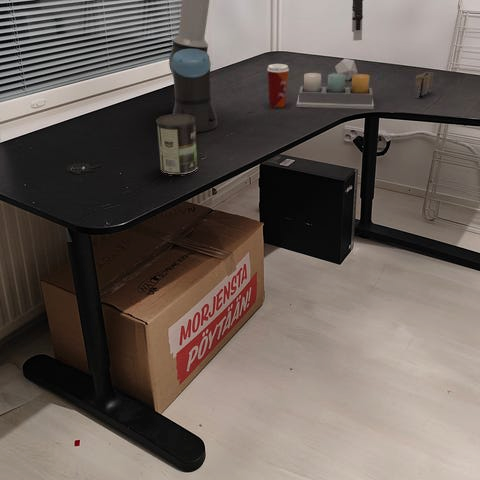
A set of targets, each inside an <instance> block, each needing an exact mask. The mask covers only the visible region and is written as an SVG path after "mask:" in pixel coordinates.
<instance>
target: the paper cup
mask: <svg viewBox="0 0 480 480" xmlns="http://www.w3.org/2000/svg"><path fill="white" fill-rule="evenodd" d="M266 70H267V79H268V81H267V82H268V102H269V107H271V108H276V107H279V108H284V107H286V97H287V90H288V89H287V88H288V77H289V76H288V75H289V74H288V73H289V70H290V69H289V66H288V65H287V64H284V63H273V64H269V65H268V66H267V68H266Z"/></svg>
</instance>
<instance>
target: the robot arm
mask: <svg viewBox="0 0 480 480" xmlns="http://www.w3.org/2000/svg"><path fill="white" fill-rule="evenodd" d="M363 1H364V0H352V6H351V7H352V9H351V10H352V18H351V24H352V25H351V32H352V33H353V37H352V39H353V41H362V40H363V19H364V16H363V9H364V8H363V4H364V3H363ZM209 7H210V0H182V1H181V8H180V10H181V11H180V16H179V17H180V19H179V28H178V35H176V36H175V37H174V38H173V40H172V49H171V53H170V56H169V59H168V60H169V61H168V65H169V69H170V72H171V74H172V77H173V88H174V89H173V90H174V100H175V101H174V107H173V110H172V114H187V115H191V116H193V117H195V133H196V134H197V133H204V132H209V131H211V130H214V129H216V128H217V127H218V117H217V114H216V111H215V108H214V105H213V103H212V86H211V84H212V83H211V82H212V81H211V61H210V56H209V55H210V54H209V53H208V47H209V44H208V42H207V41H206V40H205V36H206V30H207V29H206V28H207V23H208V15H209V14H208V13H209Z"/></svg>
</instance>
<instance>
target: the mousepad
mask: <svg viewBox="0 0 480 480" xmlns="http://www.w3.org/2000/svg"><path fill="white" fill-rule="evenodd" d="M73 167H74V168H73ZM100 167H102V165H101V164H95V165H92V166H90V164H88V163H84V162H81V163H73V164H69V165H68V166H67V167H66V171H67V172H68V171H69V172H68V173H71V172H72V173H71V174H74V173H76V174H75V175H78V174H81V175H83V173H93V172H95V170H94V169H97V168H100ZM72 168H73V169H74V170H72Z"/></svg>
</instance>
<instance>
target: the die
mask: <svg viewBox="0 0 480 480" xmlns="http://www.w3.org/2000/svg"><path fill="white" fill-rule="evenodd" d="M334 68H335V72H336V73H338V74H344V75H345V81H347V82H348V81H350V80H352V75H355V74H359V73H358V69H357V65H356V63H355V60H354V59H349V58H343V59H342V60H341V61H340V62H338V63H337V64H336V65H335V66H334Z"/></svg>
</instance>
